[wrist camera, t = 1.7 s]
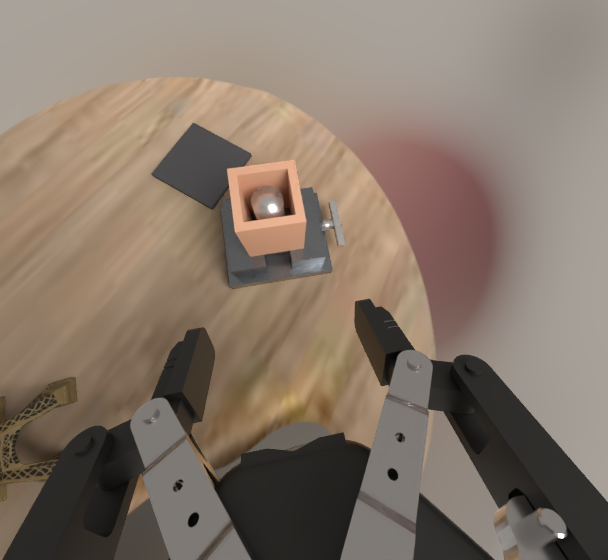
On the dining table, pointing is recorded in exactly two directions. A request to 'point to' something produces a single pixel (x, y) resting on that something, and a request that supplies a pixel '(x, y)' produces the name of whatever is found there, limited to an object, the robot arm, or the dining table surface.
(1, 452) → the eiffel tower
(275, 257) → the vise
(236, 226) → the collar
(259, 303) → the dining table surface
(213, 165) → the mat
